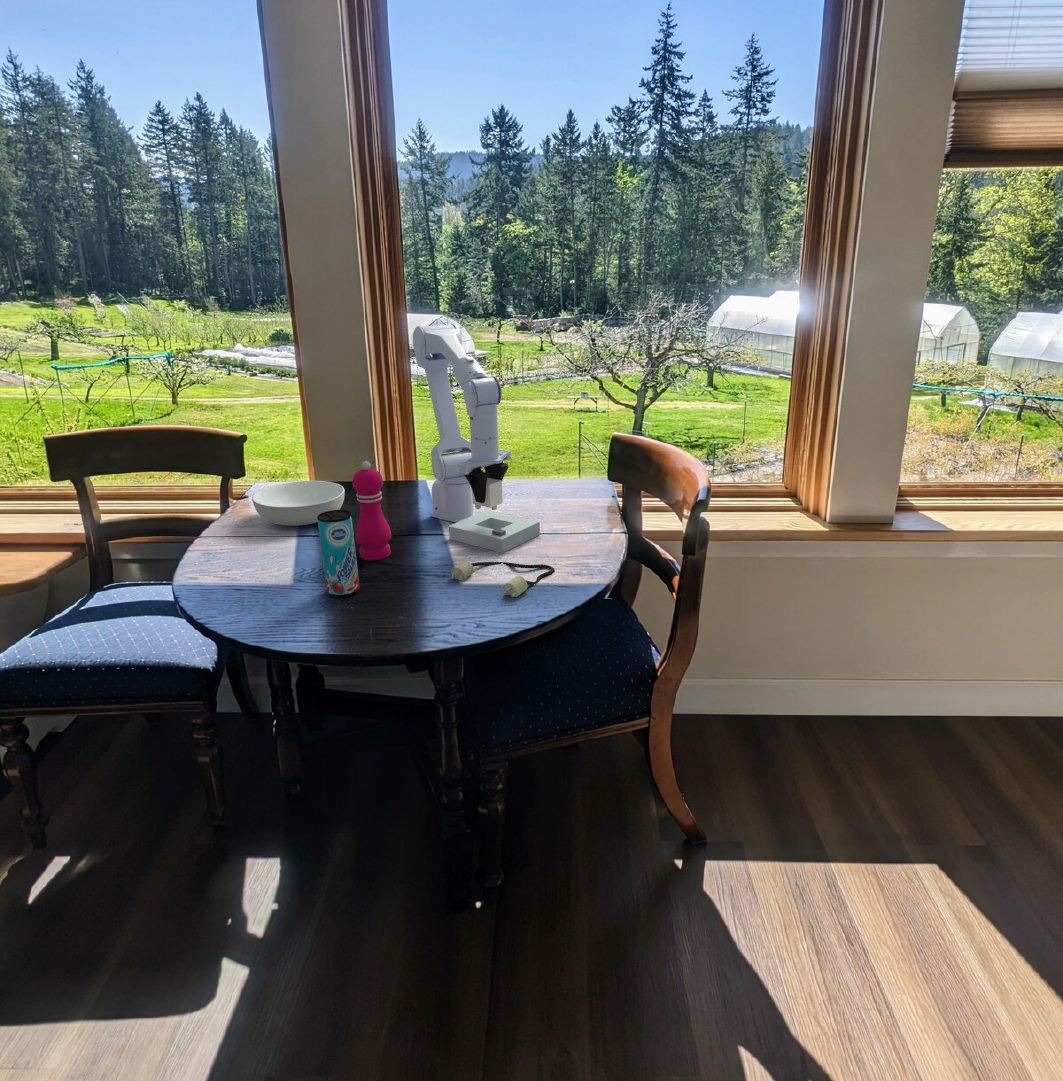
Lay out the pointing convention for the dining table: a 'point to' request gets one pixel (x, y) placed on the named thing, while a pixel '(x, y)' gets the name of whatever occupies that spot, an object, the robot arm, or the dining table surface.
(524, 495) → the dining table surface
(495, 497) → the cream rectangular block
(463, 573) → the cable
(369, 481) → the pepper mill
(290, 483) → the serving bowl
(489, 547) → the socket plate
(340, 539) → the beverage can
